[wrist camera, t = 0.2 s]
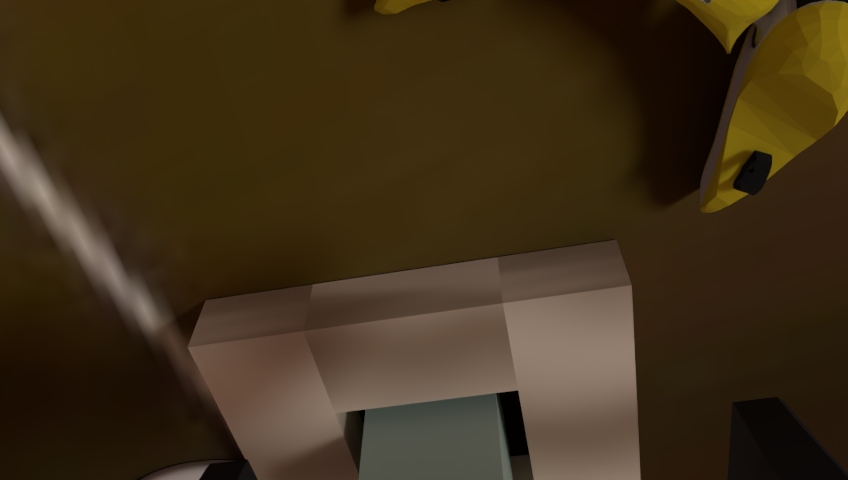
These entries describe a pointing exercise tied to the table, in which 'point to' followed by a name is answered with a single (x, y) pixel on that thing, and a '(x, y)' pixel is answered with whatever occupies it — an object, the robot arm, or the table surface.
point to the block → (437, 441)
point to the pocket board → (432, 360)
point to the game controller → (764, 86)
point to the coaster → (182, 471)
